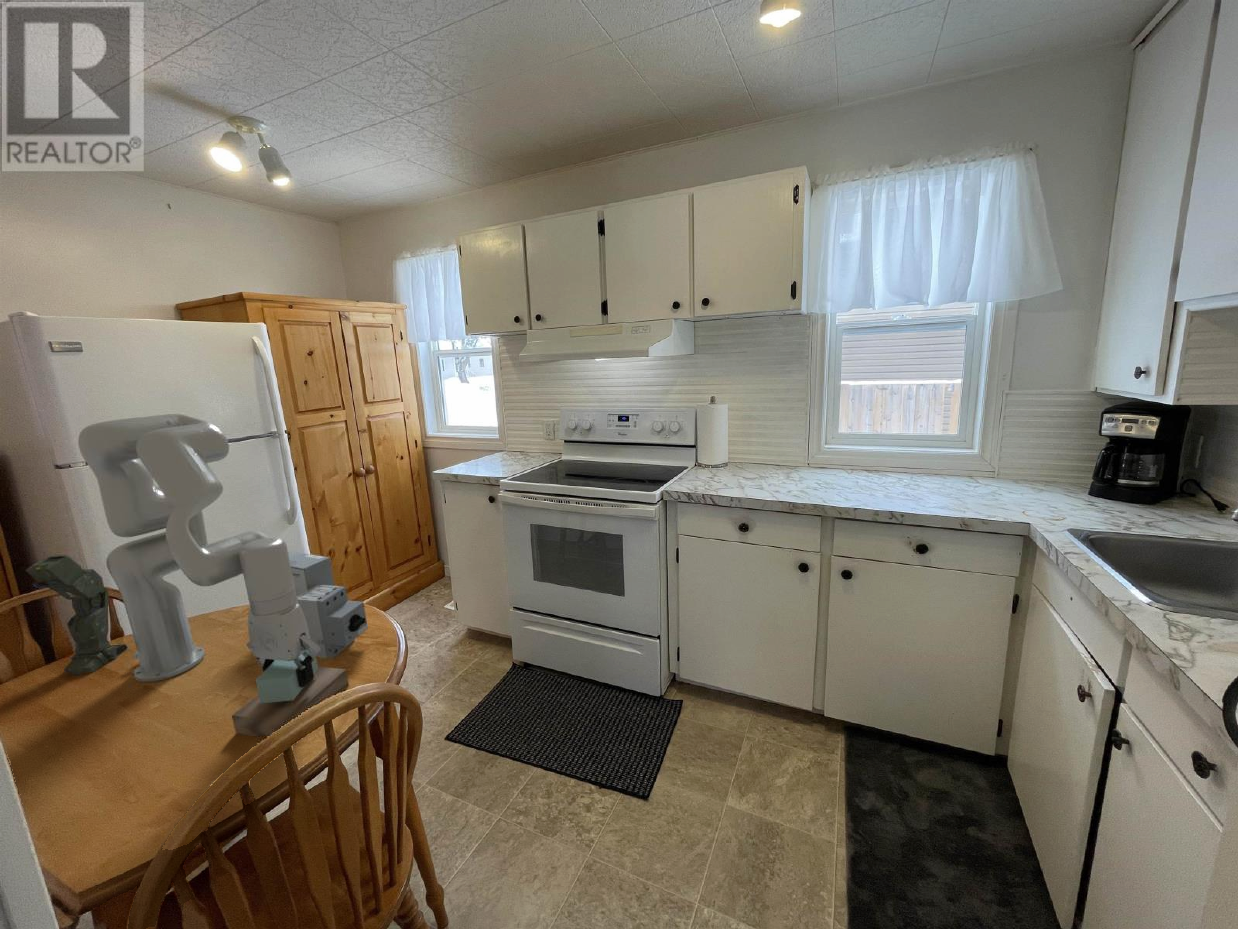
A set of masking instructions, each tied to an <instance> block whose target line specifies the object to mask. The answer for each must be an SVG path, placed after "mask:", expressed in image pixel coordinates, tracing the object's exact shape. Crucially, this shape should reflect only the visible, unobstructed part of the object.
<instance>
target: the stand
mask: <svg viewBox="0 0 1238 929" xmlns="http://www.w3.org/2000/svg"><path fill="white" fill-rule="evenodd" d="M347 673H348V672H347V669H345V668H335V667H325V666H318V670H317V671H316V672H315V673H314V678H313V680H311V681H310V682H309V683H308V684H307V685H305V686H304V687H303V689H302V690H301V691H300V692H299V694H298V695H297V696H296V698H295V699H294V700H291V701H280V702H269V703H261V702H260V698H259V694H257V696H255V697H254V698H253V699H251V700H250V701H249V702H247V703H246V704H244V705H243V706H242V707H241V708H239V709H238V710H236V711H235V712H234V713H232V715H231V718H232V722H233V727H234V730H235V733H236V734H237V735H238V734H240V735H246V736H254V737H259V738H267V736H270V735H271V734H272V733H273V732H275V731H277V730H278V729H280V728H281V726H284V725H285V724H287V723H288V722H290V721H291V720H292V719H295V718H296V717H298V715H301V713H302V712H305V711H306V710H308V708H311V707H312V706H314V705H317V704H319V703H320V702H322V701H323V700H325V699H326V698H329V697H331V696H332V695H336V694H337V693H339V692H341V691H342V692H344V691H345V689H347V688H348V687H349V686H350V685H349V680H348V679H349V678H348V674H347ZM342 692H341V693H342Z"/></svg>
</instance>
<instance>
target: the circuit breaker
mask: <svg viewBox="0 0 1238 929" xmlns="http://www.w3.org/2000/svg"><path fill="white" fill-rule="evenodd" d="M297 601H298V603H297V604H299V605H300V607H301V609H302V611H303V614H304V617H305V619H306V623H307V626H308V630H309V634H310V640H312V641H313V642H314V643H315V644H317V645H318V646H319V647H320V648H321V650H320V652H319V653H318V655H317V657H316V658H321V659H334V658H335V657H336V656H338V655H339V654H340V653H342V652H343V651H344V650H345V649H347V647H349V646H350V645H352V643H354V642H355V641H354V640H356V639H357V638H358V637H360V636H361V635H363V633H365V631H367V630H368V628H369V627H368V621H367V616H366V615H367V614H366V610H365V603H364V601H359V600H357V601H356V600H348V593H347V587H346V586H341V585H335V586H330V585H321V586H319V585H316V586H315V587H313V588H311V589H310V590H308V591H307V593H303V594H301V595H300V596H298V597H297ZM353 641H354V642H353Z"/></svg>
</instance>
